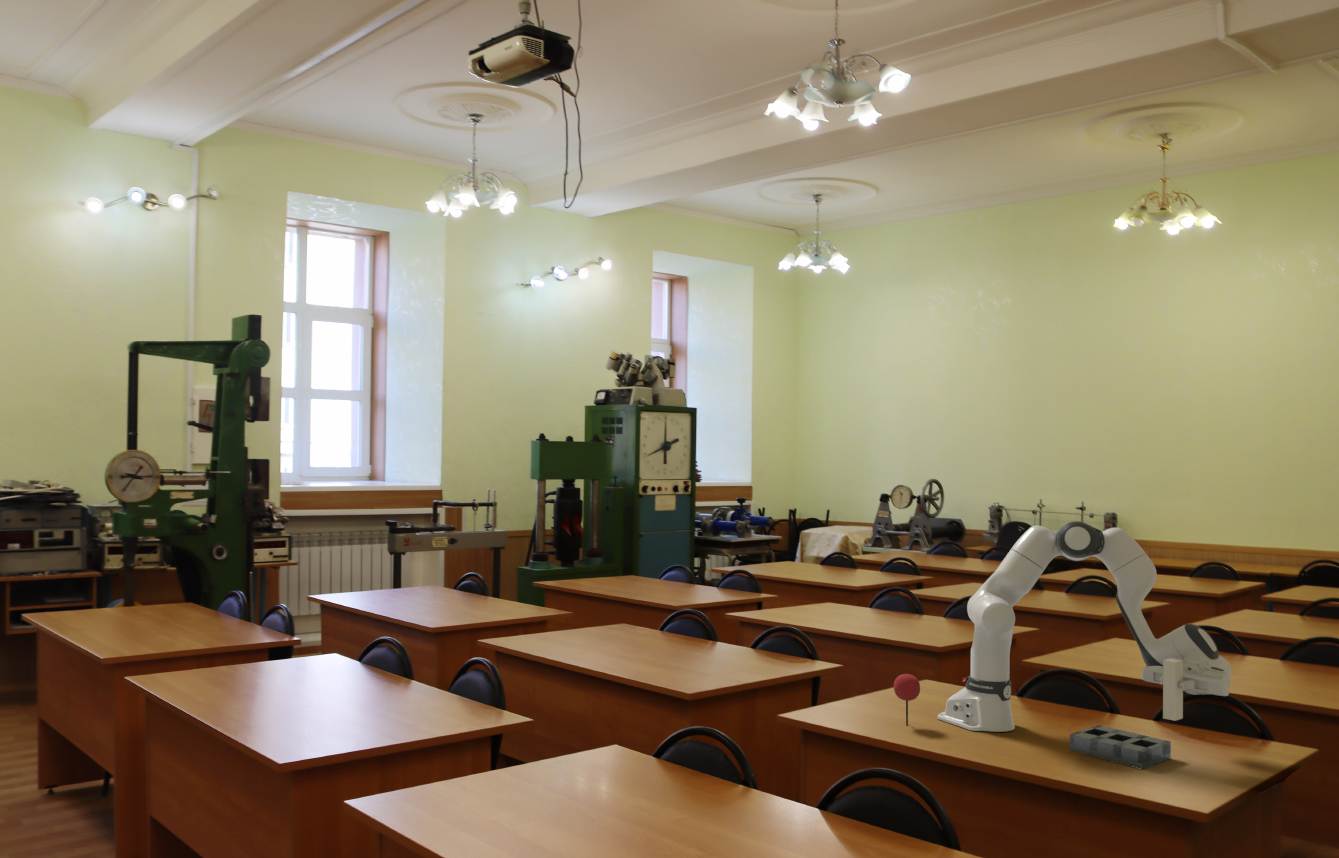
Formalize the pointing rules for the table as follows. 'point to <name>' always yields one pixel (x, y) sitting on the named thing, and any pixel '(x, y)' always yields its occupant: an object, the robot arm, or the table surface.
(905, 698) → the lollipop
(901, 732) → the table surface
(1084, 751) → the rack
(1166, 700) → the clay bar
